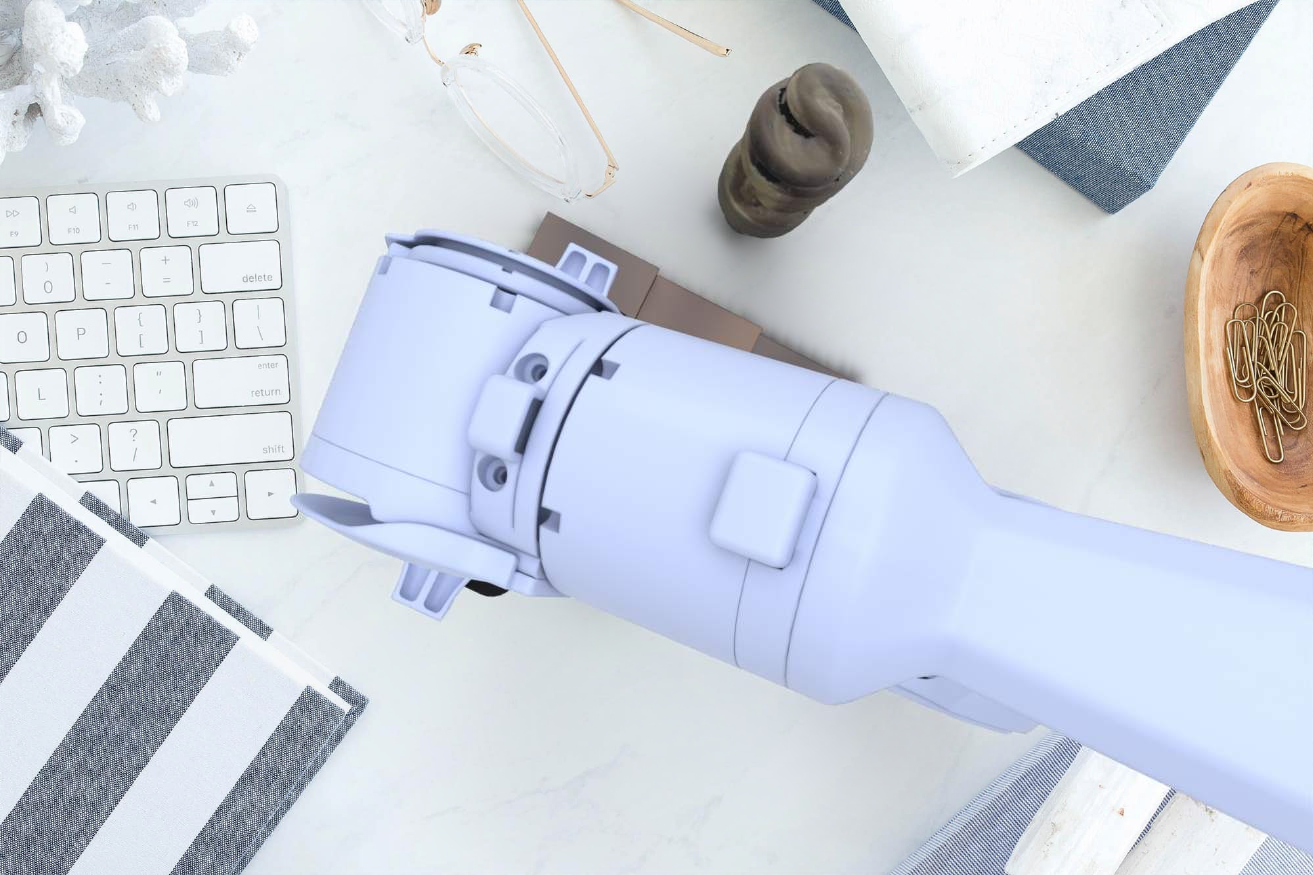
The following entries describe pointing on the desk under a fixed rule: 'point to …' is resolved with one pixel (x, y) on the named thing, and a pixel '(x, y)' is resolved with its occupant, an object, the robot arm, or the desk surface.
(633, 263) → the steps
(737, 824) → the desk surface
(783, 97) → the brown carved figurine
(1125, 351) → the desk surface
